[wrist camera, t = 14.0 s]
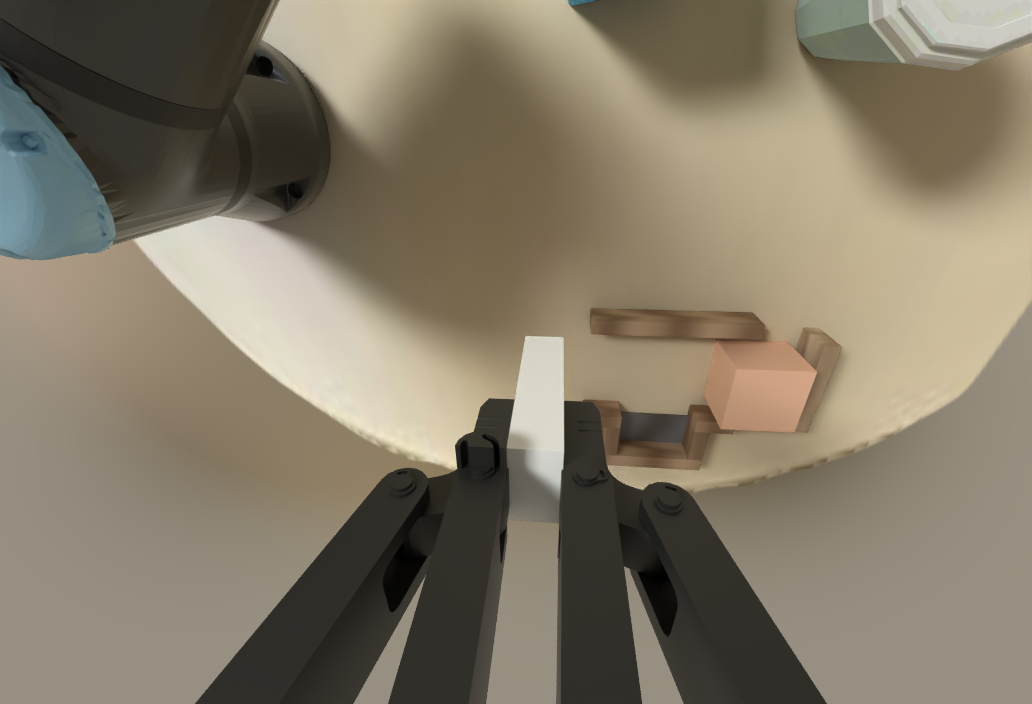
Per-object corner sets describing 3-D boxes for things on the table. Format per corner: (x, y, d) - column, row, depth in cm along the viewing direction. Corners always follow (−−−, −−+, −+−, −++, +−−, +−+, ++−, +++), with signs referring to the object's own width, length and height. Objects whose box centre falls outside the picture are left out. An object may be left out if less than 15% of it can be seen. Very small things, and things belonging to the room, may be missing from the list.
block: (703, 394, 48) (720, 429, 43) (716, 339, 45) (736, 369, 39) (768, 397, 47) (794, 432, 42) (787, 341, 44) (817, 371, 39)
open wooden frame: (579, 446, 53) (581, 469, 49) (590, 308, 44) (593, 324, 41) (772, 456, 51) (787, 481, 47) (824, 314, 42) (847, 332, 39)
